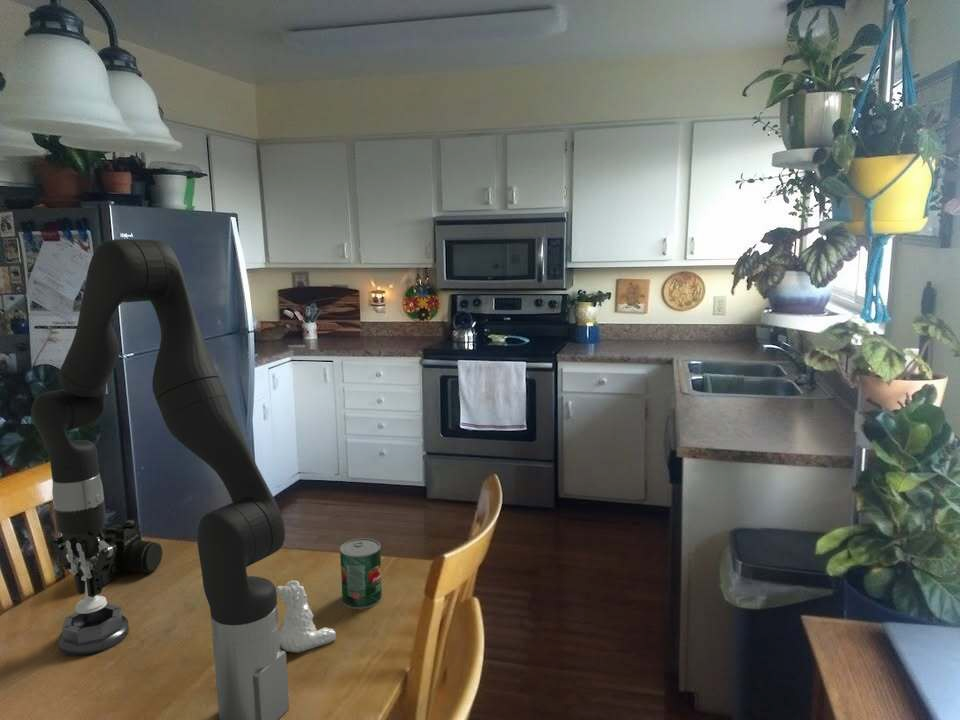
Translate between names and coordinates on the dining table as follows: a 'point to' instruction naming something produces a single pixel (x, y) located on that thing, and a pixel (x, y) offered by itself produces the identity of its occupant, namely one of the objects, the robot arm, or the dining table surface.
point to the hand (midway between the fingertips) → (89, 593)
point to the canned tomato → (361, 573)
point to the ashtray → (93, 631)
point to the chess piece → (89, 599)
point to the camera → (130, 552)
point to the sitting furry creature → (300, 621)
